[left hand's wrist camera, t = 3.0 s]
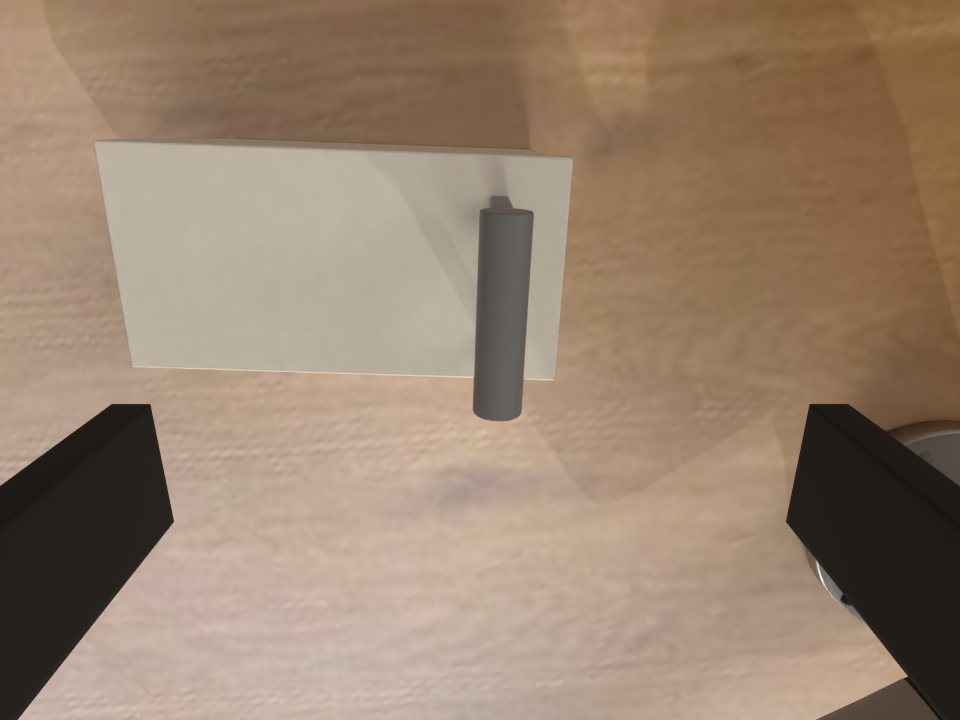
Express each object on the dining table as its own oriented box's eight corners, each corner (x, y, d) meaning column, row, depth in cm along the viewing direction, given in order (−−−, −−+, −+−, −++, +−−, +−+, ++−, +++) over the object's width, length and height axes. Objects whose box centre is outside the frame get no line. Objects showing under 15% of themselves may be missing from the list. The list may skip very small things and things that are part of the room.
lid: (570, 156, 24) (610, 166, 17) (552, 373, 28) (580, 462, 20) (105, 139, 24) (-62, 142, 17) (141, 360, 27) (15, 445, 20)
